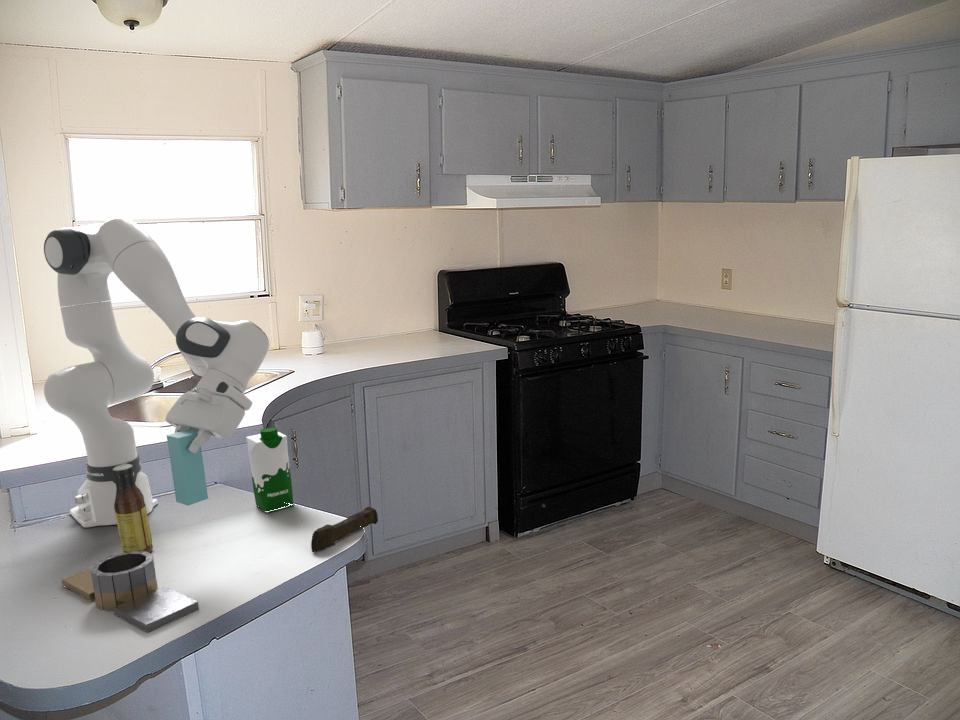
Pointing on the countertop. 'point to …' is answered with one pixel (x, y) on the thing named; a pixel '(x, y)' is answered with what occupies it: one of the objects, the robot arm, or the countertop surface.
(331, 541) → the hand tool
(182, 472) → the teal square block
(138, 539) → the sauce bottle
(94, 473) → the robot arm
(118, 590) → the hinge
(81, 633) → the countertop surface
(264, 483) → the milk carton
